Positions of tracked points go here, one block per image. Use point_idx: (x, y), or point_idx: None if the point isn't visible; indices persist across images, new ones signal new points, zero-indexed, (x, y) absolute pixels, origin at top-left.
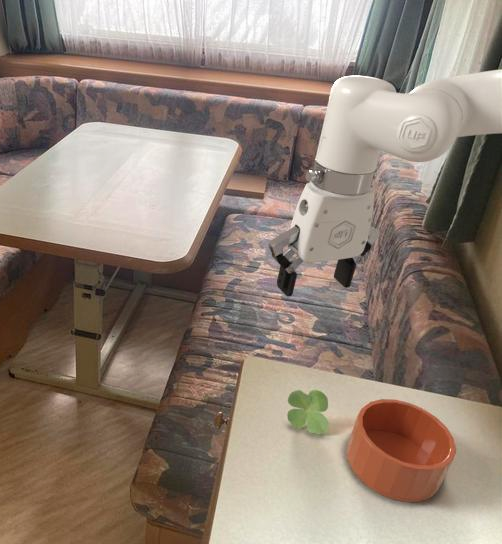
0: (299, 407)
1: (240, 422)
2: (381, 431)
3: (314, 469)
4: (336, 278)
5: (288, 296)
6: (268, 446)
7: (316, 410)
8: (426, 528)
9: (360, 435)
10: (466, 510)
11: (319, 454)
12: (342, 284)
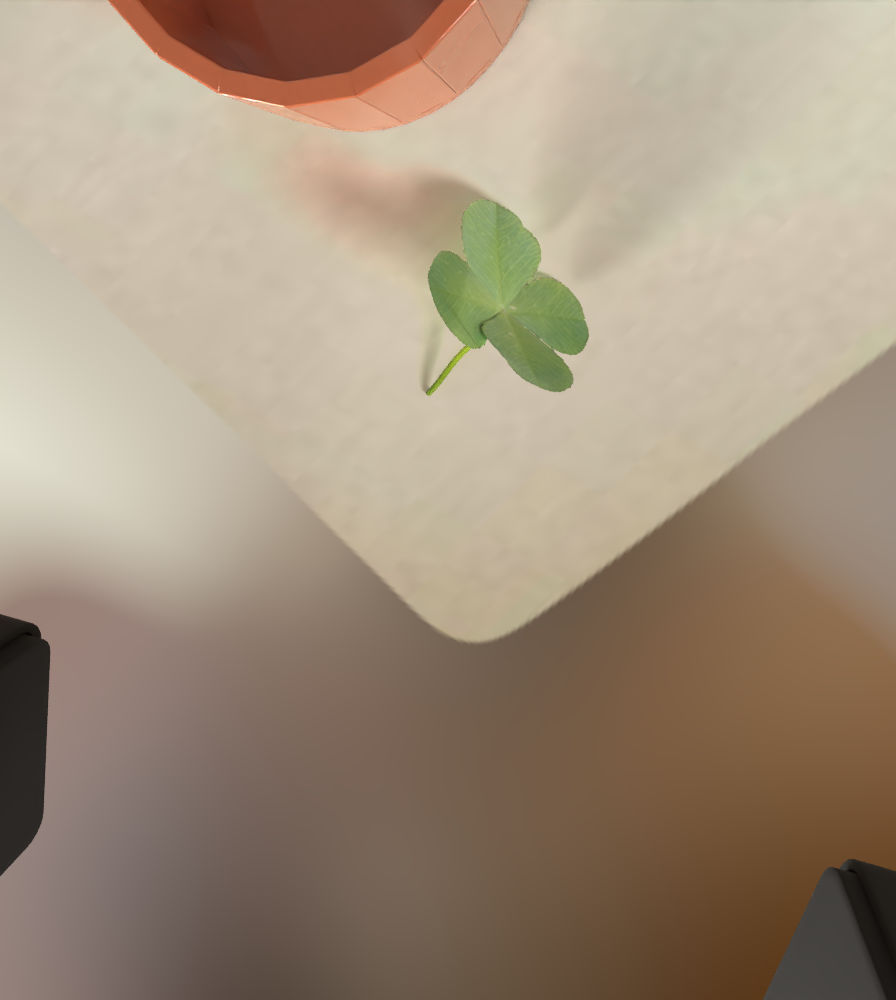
0: (533, 336)
1: (756, 434)
2: (269, 75)
3: (680, 69)
4: (33, 796)
5: (892, 871)
6: (755, 272)
7: (479, 281)
8: None
9: None
10: None
11: (595, 126)
12: (42, 686)
